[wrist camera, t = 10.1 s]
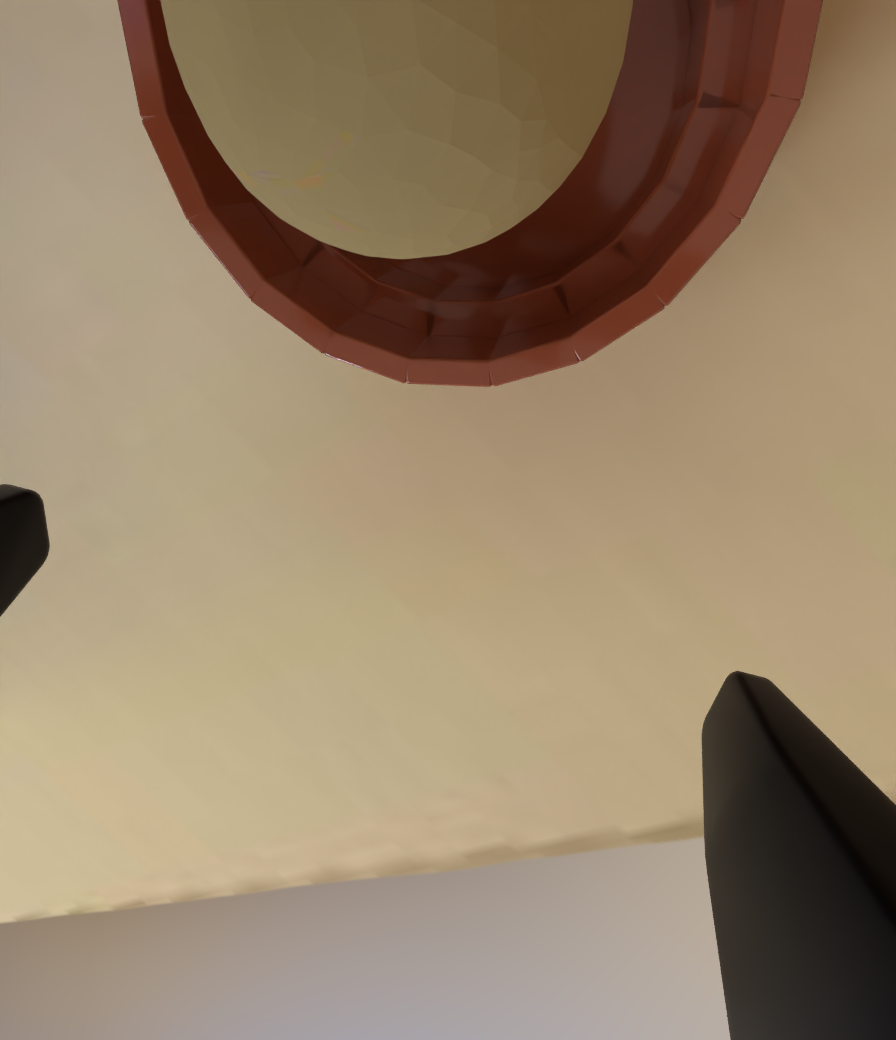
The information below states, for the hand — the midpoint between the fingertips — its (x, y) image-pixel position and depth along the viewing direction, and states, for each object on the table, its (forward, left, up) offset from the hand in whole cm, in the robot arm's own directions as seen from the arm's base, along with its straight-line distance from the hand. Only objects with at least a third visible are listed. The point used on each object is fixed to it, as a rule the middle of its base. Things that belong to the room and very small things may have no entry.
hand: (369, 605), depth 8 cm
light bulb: (+2, +7, -12) cm, 14 cm away
